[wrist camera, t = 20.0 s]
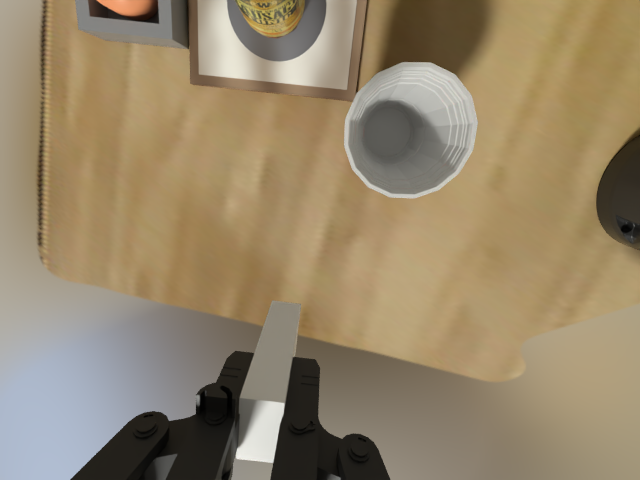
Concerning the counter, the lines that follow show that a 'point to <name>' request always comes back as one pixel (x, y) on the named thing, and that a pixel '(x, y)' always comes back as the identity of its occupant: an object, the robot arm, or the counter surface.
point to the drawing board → (278, 50)
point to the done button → (132, 8)
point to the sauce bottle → (272, 15)
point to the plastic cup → (410, 130)
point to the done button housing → (136, 24)
